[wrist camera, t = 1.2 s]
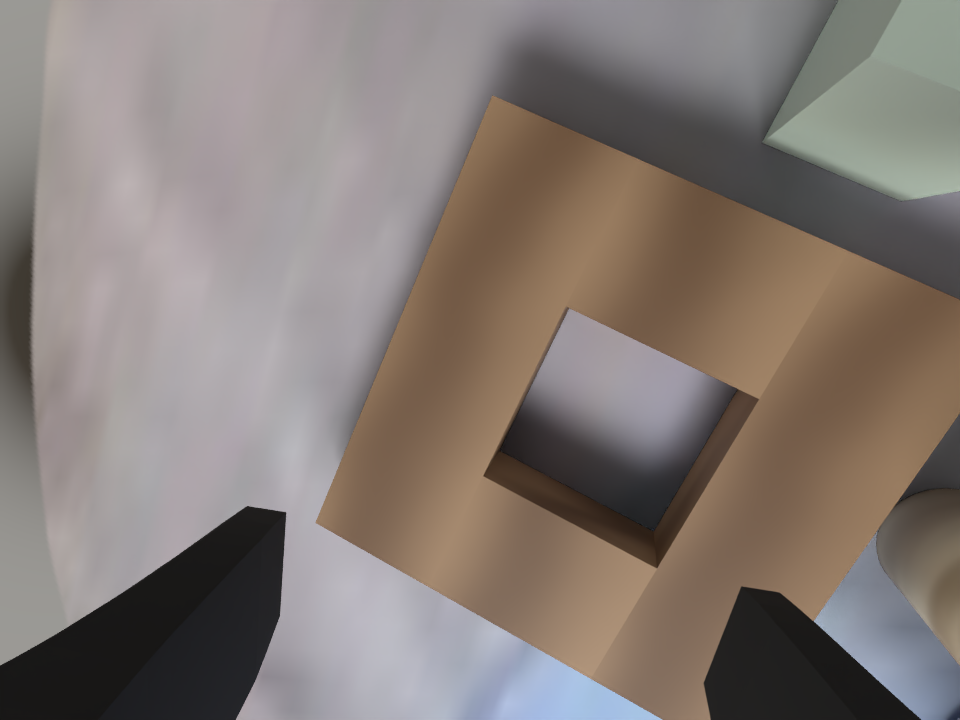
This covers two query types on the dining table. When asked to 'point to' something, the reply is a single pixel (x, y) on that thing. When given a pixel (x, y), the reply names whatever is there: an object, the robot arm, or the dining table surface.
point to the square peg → (880, 98)
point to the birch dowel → (927, 559)
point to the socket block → (677, 333)
